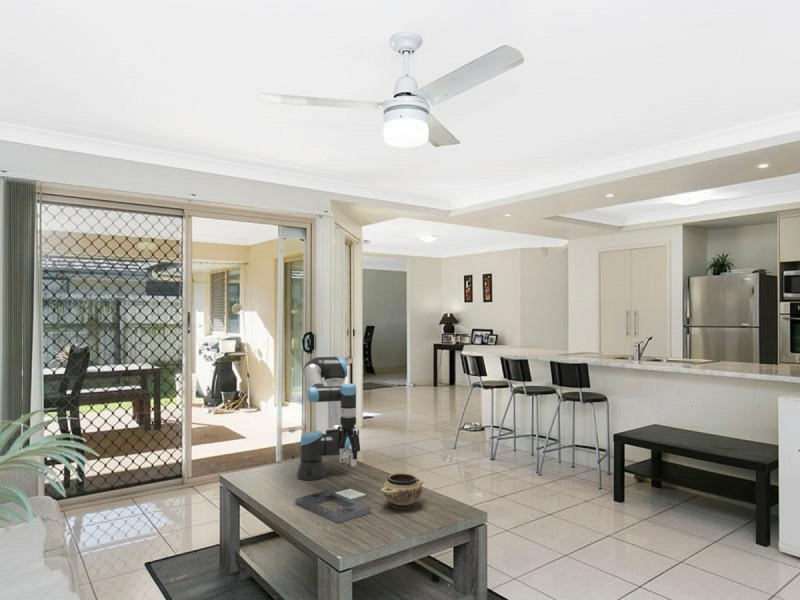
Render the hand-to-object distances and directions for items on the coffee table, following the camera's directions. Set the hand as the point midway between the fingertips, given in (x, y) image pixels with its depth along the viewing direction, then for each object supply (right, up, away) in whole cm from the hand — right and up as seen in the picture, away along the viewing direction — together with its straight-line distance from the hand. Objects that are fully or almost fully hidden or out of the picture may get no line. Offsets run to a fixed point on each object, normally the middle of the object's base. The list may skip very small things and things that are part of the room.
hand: (348, 463), depth 260 cm
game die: (0, 0, 0) cm, 0 cm away
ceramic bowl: (+26, -15, -14) cm, 33 cm away
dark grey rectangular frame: (-5, -14, -18) cm, 24 cm away
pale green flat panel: (0, -15, 0) cm, 15 cm away
